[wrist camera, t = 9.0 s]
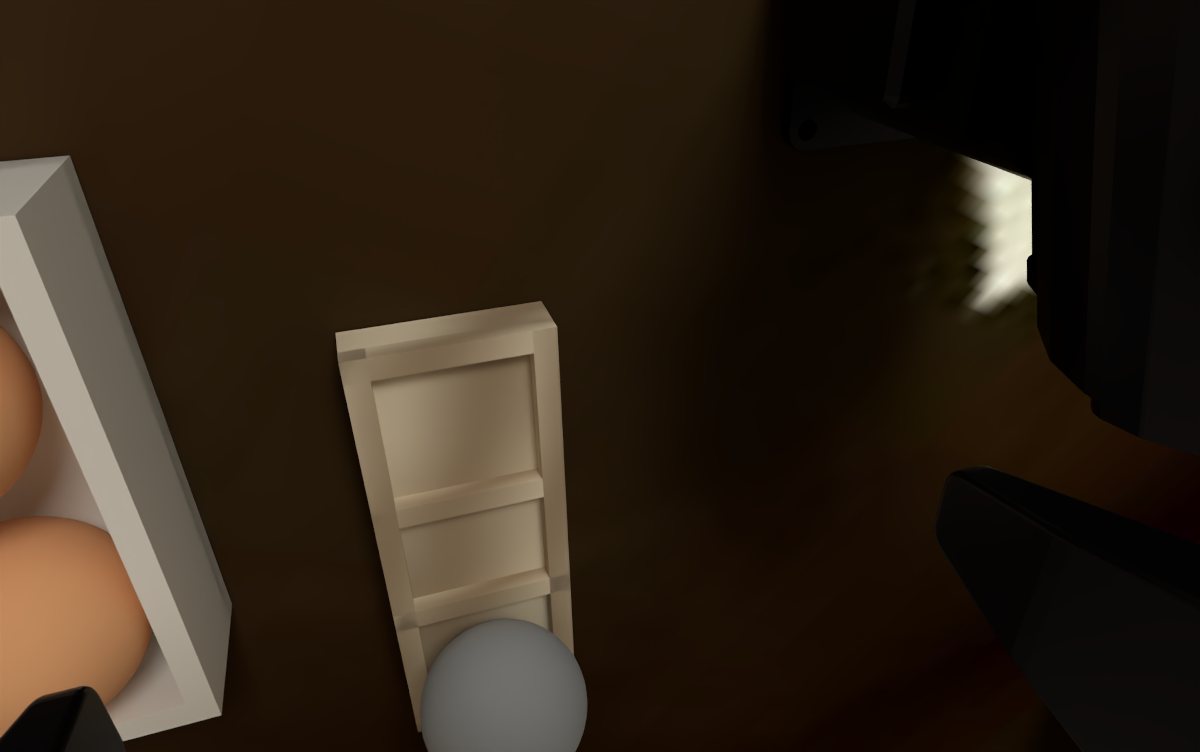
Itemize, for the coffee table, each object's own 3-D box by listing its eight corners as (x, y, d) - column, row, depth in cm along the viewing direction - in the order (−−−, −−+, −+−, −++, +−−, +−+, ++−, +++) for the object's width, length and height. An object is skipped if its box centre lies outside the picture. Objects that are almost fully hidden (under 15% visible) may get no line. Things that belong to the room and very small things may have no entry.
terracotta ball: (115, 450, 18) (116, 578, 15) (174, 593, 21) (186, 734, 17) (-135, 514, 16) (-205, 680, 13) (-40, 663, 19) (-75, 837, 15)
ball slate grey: (558, 568, 23) (608, 695, 20) (564, 672, 26) (610, 803, 22) (399, 607, 22) (420, 750, 18) (421, 712, 25) (444, 858, 21)
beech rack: (541, 301, 20) (556, 326, 19) (562, 651, 27) (575, 686, 25) (335, 332, 19) (338, 362, 17) (412, 692, 25) (418, 732, 24)
